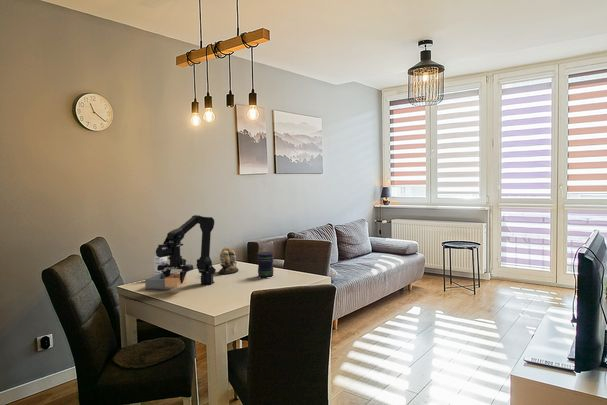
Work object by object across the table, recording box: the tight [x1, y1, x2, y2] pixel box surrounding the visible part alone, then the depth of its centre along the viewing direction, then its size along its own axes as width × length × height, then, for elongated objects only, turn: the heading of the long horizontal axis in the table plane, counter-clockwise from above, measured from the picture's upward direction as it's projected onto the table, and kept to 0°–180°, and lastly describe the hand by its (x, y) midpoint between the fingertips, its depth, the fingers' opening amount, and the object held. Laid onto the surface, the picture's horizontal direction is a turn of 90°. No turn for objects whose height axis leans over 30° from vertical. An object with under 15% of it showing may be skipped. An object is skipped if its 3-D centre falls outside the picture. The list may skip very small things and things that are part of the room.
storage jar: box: [257, 251, 274, 279], centre depth 260 cm, size 10×10×15 cm
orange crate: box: [165, 274, 187, 289], centre depth 223 cm, size 7×10×5 cm
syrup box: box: [153, 256, 168, 275], centre depth 256 cm, size 6×6×14 cm
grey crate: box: [144, 272, 180, 291], centre depth 238 cm, size 14×16×6 cm
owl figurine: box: [218, 246, 239, 275], centre depth 275 cm, size 18×12×17 cm, turn 166°
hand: (175, 283), depth 224 cm, fingers closed on orange crate, 7 cm apart
